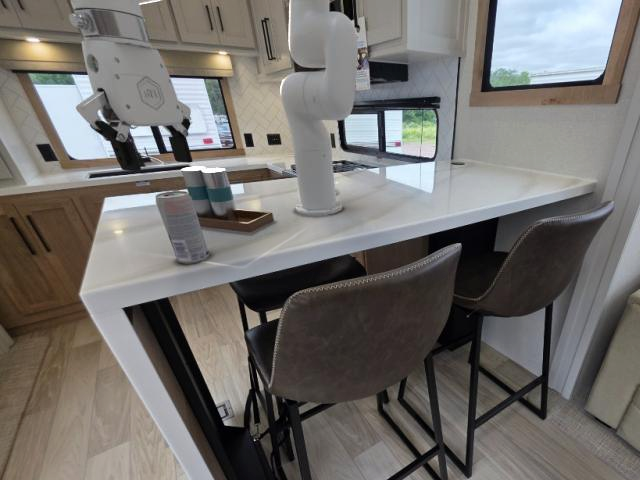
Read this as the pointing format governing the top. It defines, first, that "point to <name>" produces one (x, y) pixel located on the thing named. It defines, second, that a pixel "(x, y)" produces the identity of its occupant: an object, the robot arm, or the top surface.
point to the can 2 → (220, 194)
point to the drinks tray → (240, 221)
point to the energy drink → (182, 226)
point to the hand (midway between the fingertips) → (160, 165)
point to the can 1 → (198, 191)
